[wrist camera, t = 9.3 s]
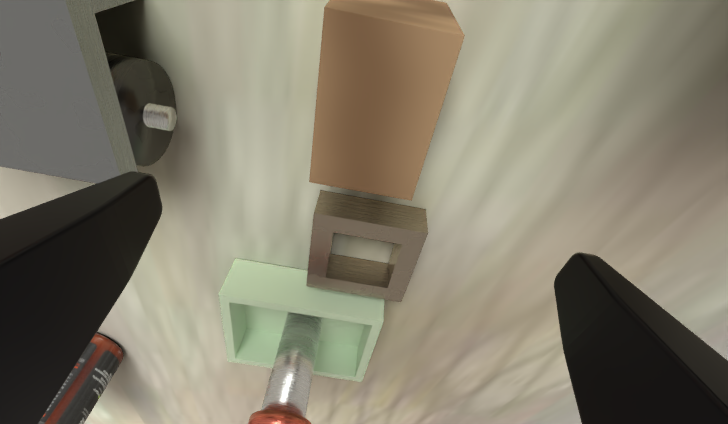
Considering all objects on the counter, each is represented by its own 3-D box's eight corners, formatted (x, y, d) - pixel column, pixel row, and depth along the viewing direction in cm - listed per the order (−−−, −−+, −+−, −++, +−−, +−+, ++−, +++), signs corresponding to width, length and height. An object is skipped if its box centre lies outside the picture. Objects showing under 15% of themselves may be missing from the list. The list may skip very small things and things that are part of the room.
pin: (333, 302, 26) (311, 431, 19) (327, 329, 28) (307, 453, 22) (282, 293, 25) (244, 421, 19) (281, 322, 28) (246, 444, 21)
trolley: (174, -39, 14) (77, -19, 10) (198, 139, 19) (141, 204, 14) (-131, -104, 13) (-375, -112, 9) (-24, 98, 18) (-150, 153, 14)
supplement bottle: (42, 325, 32) (-94, 481, 23) (102, 323, 31) (-15, 485, 22) (84, 360, 35) (-19, 506, 27) (139, 360, 34) (51, 511, 26)
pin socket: (425, 209, 20) (427, 233, 19) (400, 277, 24) (401, 302, 23) (320, 190, 20) (314, 212, 19) (312, 262, 24) (306, 286, 22)
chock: (446, 2, 14) (464, 35, 10) (408, 138, 18) (411, 200, 14) (345, -19, 14) (324, 7, 10) (328, 123, 18) (309, 182, 14)
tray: (384, 283, 25) (383, 321, 22) (364, 346, 30) (361, 382, 28) (235, 258, 24) (218, 294, 22) (241, 326, 29) (227, 361, 27)
